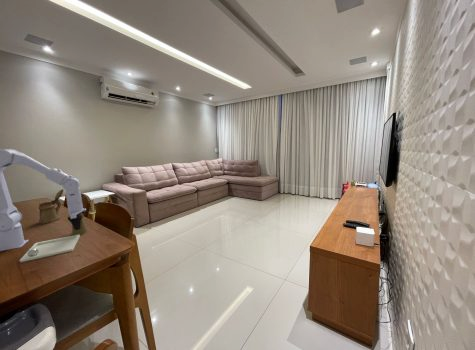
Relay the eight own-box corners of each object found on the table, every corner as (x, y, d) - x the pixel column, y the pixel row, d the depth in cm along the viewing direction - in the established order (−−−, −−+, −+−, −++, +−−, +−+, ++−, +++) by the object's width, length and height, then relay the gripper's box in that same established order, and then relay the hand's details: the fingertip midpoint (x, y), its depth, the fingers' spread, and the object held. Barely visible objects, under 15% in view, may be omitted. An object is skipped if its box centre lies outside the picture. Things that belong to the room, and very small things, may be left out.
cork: (78, 236, 98) (75, 215, 97) (68, 236, 100) (65, 215, 98) (89, 231, 104) (87, 211, 102) (80, 230, 105) (77, 211, 104)
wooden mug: (70, 217, 127) (66, 189, 124) (41, 224, 115) (36, 194, 112) (65, 214, 131) (60, 188, 128) (36, 221, 120) (31, 193, 117)
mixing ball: (26, 259, 78) (25, 251, 78) (29, 255, 81) (28, 248, 81) (37, 257, 80) (36, 249, 79) (40, 253, 83) (39, 246, 82)
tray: (20, 263, 76) (19, 260, 76) (36, 245, 90) (35, 242, 90) (73, 251, 84) (72, 248, 84) (80, 237, 98) (79, 234, 98)
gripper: (82, 204, 95) (86, 230, 97) (86, 197, 107) (90, 221, 109) (62, 206, 91) (67, 234, 94) (70, 199, 104) (74, 224, 106)
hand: (78, 227), depth 101 cm, fingers closed on cork, 5 cm apart
